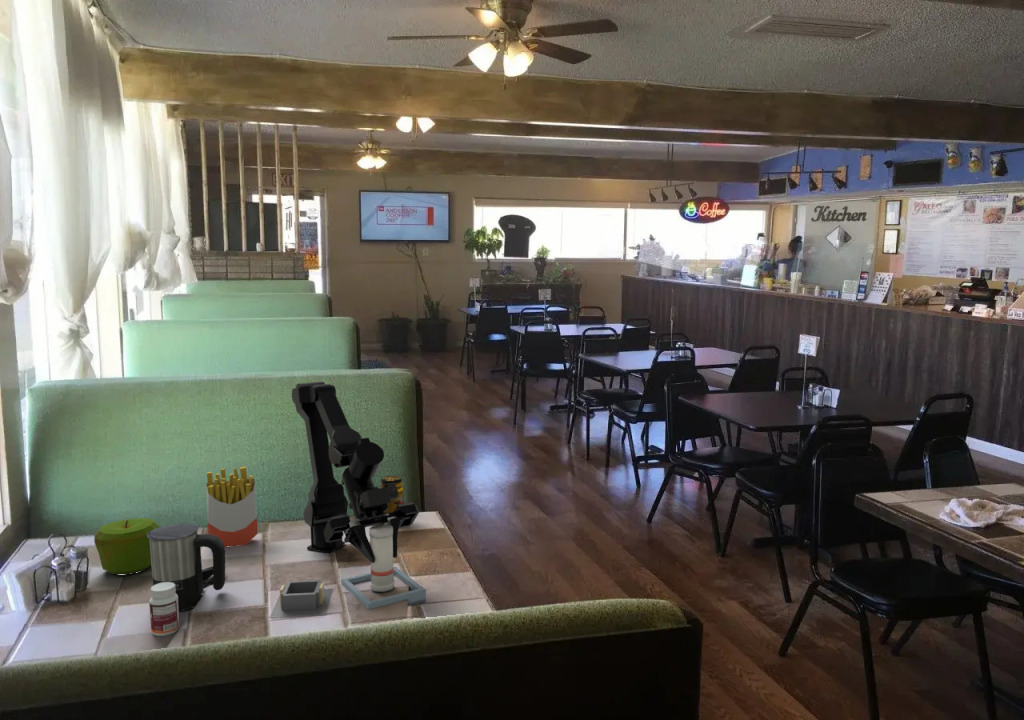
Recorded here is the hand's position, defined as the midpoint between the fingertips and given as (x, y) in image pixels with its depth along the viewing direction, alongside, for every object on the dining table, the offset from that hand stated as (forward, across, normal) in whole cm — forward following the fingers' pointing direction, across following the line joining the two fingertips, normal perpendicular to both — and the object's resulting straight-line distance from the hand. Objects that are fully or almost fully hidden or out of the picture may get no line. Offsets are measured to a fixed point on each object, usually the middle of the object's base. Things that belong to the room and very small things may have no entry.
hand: (384, 559), depth 151 cm
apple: (-26, -40, +38) cm, 61 cm away
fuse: (+3, 0, +5) cm, 6 cm away
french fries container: (-29, -18, +40) cm, 53 cm away
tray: (+5, 0, +7) cm, 8 cm away
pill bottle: (-1, -39, +13) cm, 41 cm away
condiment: (-24, +19, +36) cm, 47 cm away
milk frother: (-11, -32, +23) cm, 41 cm away
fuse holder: (+3, -15, +8) cm, 18 cm away
